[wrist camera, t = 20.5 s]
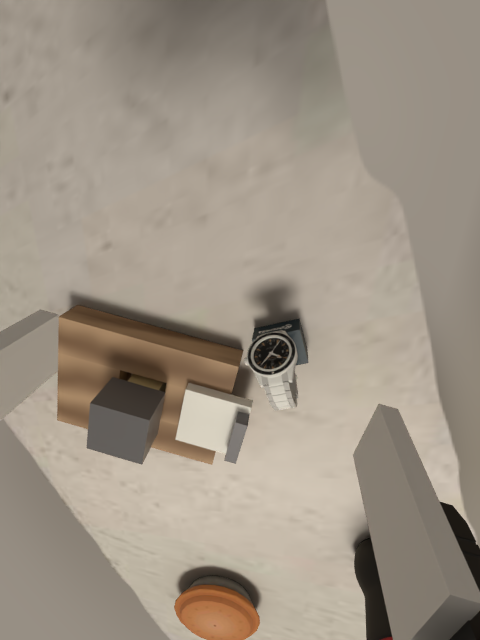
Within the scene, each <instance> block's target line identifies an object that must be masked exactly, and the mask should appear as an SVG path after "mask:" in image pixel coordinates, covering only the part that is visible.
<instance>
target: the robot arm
mask: <svg viewBox="0 0 480 640" xmlns="http://www.w3.org/2000/svg"><path fill="white" fill-rule="evenodd" d="M58 326H59V315H58V314H55V313H51V312H47V311H44V310H39V311H37V312H35V313H33V314H32V315H30V316H28V317H26V318H24V319H23V320H21V321H19V322H17V323H15V324H14V325H12V326H10V327H8V328H6V329H4V330H3V331H1V332H0V420H2V419H3V418H4V417H5V416H6V415H7V414H9V413H10V412H11V411H12V410H13V409H14V408H16V407H17V406H18V405H19V404H20V403H21V402H22V401H24V400H25V399H26V398H27V397H28V396H29V395H31V394H32V393H33V392H34V391H35V390H36V389H38V388H39V387H40V386H41V385H42V384H43V383H45V382H46V381H47V380H48V379H49V378H50V377H52V376H53V375H54V374H55V373H56V372H57V371H58ZM353 457H354V462H355V467H356V471H357V476H358V480H359V485H360V490H361V494H362V499H363V504H364V508H365V513H366V517H367V522H368V527H369V531H370V536H371V541H372V545H373V550H374V554H375V559H376V564H377V568H378V573H379V577H380V582H381V587H382V591H383V596H384V601H385V605H386V610H387V614H388V619H389V624H390V628H391V633H392V637H393V640H480V548H479V546H478V545H476V540H475V538H474V536H473V534H472V532H471V530H470V528H469V526H468V524H467V523H466V521H465V520H464V519H463V518H462V516H461V515H460V514H459V513H458V512H457V510H456V509H455V508H454V507H453V506H452V505H449V504H446V503H442V502H439V500H438V497H437V495H436V493H435V491H434V488H433V486H432V484H431V482H430V479H429V477H428V475H427V473H426V471H425V468H424V466H423V464H422V462H421V459H420V457H419V455H418V453H417V450H416V448H415V446H414V444H413V441H412V439H411V437H410V435H409V433H408V430H407V428H406V426H405V424H404V421H403V419H402V417H401V415H400V412H399V410H398V409H396V408H392V407H388V406H385V405H381V404H378V406H377V408H376V410H375V412H374V414H373V416H372V418H371V420H370V422H369V424H368V426H367V428H366V430H365V432H364V434H363V436H362V438H361V440H360V442H359V444H358V446H357V448H356V450H355V452H354V454H353Z"/></svg>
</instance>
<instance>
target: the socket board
mask: <svg viewBox="0 0 480 640" xmlns="http://www.w3.org/2000/svg"><path fill="white" fill-rule="evenodd" d="M242 353H243V350H239V349H236V348H232V347H228V346H225V345H221V344H217V343H214V342H210V341H207V340H203V339H199V338H196V337H192V336H189V335H185V334H181V333H178V332H174V331H170V330H167V329H163V328H160V327H156V326H152V325H149V324H145V323H142V322H138V321H134V320H131V319H127V318H123V317H120V316H116V315H113V314H109V313H105V312H102V311H98V310H95V309H91V308H87V307H84V306H80V305H77V306H75V307H74V308H72V309H70V310H69V311H67V312H66V313H64V314H62V315H61V316H59V327H58V412H57V420H58V421H62V422H65V423H69V424H72V425H76V426H79V427H83V428H86V429H88V424H89V410H90V402H91V401H92V400H93V399H94V398H95V397H96V396H97V394H98V393H99V392H100V391H101V390H102V389H103V387H104V386H105V385H106V384H107V383H108V382H109V381H110V379H111V378H112V377H115V378H118V379H122V380H125V381H128V380H129V378H130V377H131V373H132V374H136V375H139V376H143V377H147V378H150V379H154V380H157V381H161V382H164V383H167V384H166V390H165V392H166V393H165V398H164V403H163V409H162V414H161V419H160V425H159V430H158V434H157V436H156V438H155V440H154V442H153V444H152V446H151V447H152V448H156V449H159V450H163V451H166V452H170V453H173V454H177V455H180V456H184V457H187V458H190V459H194V460H197V461H201V462H204V463H208V464H211V465H212V463H213V459H214V455H215V452H216V451H213V450H210V449H206V448H203V447H199V446H196V445H192V444H189V443H185V442H182V441H178V440H175V439H176V434H177V429H178V424H179V419H180V415H181V410H182V405H183V400H184V395H185V390H186V388H187V386H188V383H192V384H195V385H199V386H202V387H206V388H210V389H213V390H217V391H220V392H224V393H227V394H232V390H233V386H234V383H235V379H236V376H237V372H238V368H239V365H240V361H241V357H242Z"/></svg>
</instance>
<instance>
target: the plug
mask: <svg viewBox="0 0 480 640" xmlns="http://www.w3.org/2000/svg"><path fill="white" fill-rule="evenodd" d="M166 384H167V383H164V382H161V381H157V380H154V379H150V378H147V377H143V376H139V375H136V374H133V375H132V376H131V377H130V378H129V380H128V381H125V380H122V379H118V378H115V377H112V378H111V379H110V381H109V382H108V383H107V384H106V385H105V386H104V387H103V389H102V390H101V391H100V392H99V393H98V394H97V396H96V397H95V398H94V399H93V400H92V401H91V402H90V410H89V424H88V437H87V448H88V449H91V450H95V451H98V452H102V453H105V454H108V455H112V456H115V457H118V458H122V459H125V460H128V461H132V462H135V463H139V464H143V462H144V460H145V458H146V456H147V454H148V452H149V450H150V448H151V446H152V444H153V442H154V440H155V438H156V436H157V434H158V430H159V425H160V419H161V414H162V409H163V403H164V398H165V393H166V392H165V390H166Z"/></svg>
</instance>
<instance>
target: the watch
mask: <svg viewBox="0 0 480 640" xmlns="http://www.w3.org/2000/svg"><path fill="white" fill-rule="evenodd" d="M252 341H253V343H252V344H251V346H250V348H249V350H248V353H247V358H244V361H245V365H249V366H250V368H251V369H252V370H253V372H254V374H255V376H256V378H257V380H258V382H259V384H260V386H261V388H263V387H264V389H265V392H266V395H267V398H268V400H269V403H270V405H271V406H272V408H273V409H274V410H282V409H289V408H295V407H297V398H298V390H297V382H296V379H297V375H295V366H296V365H300V364H305V363H308V352H307V347H306V343H305V339H304V335H303V331H302V327H301V323H300V320H299V319H295V320H290V321H286V322H281V323H277V324H272V325H268V326H263V327H259V328H255V329H254V333H253V338H252ZM266 384H267V385H266Z"/></svg>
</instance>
